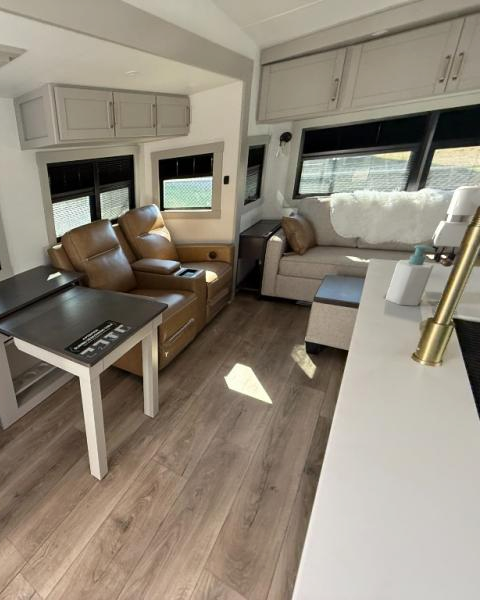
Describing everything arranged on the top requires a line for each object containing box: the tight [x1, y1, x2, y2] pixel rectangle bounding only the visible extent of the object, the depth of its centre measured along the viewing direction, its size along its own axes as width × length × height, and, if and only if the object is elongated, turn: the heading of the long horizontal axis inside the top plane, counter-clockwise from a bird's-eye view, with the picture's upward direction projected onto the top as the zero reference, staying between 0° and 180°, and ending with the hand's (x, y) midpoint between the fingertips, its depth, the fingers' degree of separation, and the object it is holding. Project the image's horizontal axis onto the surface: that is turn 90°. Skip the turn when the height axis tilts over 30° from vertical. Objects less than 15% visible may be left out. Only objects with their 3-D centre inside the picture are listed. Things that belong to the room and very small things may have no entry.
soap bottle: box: [385, 244, 435, 307], centre depth 120 cm, size 10×9×22 cm
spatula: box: [425, 254, 454, 268], centre depth 136 cm, size 18×6×3 cm, turn 146°
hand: (442, 261), depth 135 cm, fingers closed on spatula, 3 cm apart
